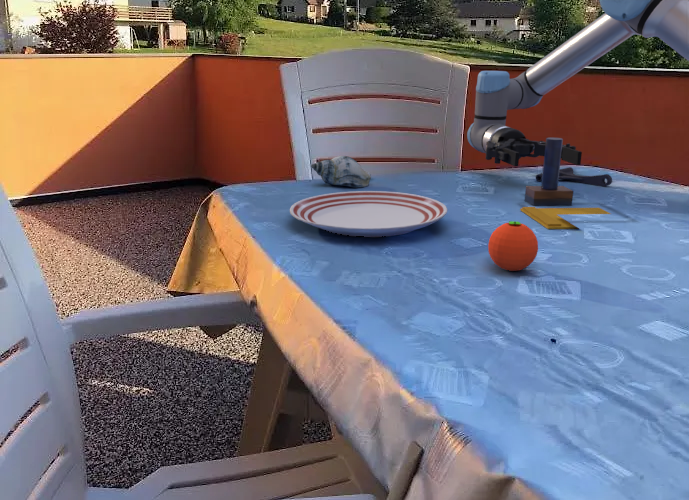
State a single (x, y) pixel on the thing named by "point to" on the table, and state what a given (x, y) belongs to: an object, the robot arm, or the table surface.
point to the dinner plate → (369, 212)
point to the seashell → (342, 172)
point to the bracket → (581, 177)
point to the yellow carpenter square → (553, 221)
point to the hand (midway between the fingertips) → (548, 159)
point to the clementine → (513, 246)
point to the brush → (550, 179)
